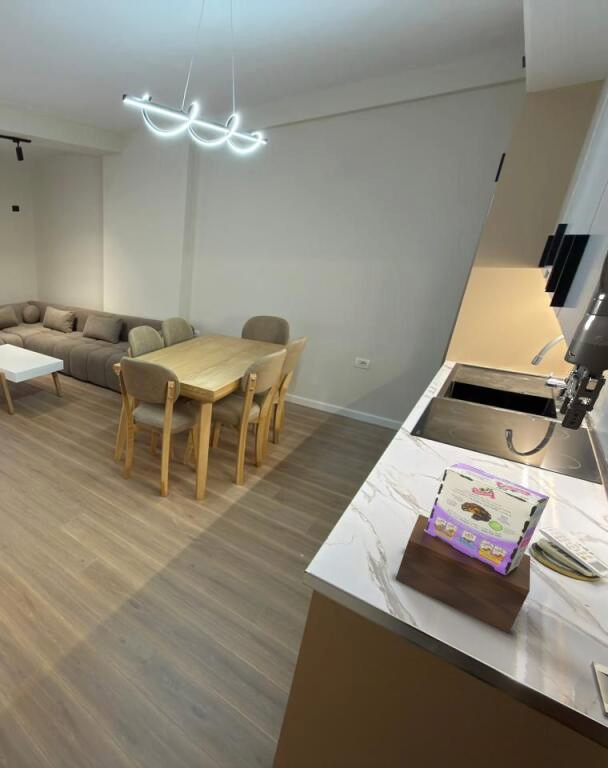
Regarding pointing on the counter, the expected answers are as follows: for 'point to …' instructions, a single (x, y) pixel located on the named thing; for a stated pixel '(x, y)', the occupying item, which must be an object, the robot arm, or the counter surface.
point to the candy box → (485, 516)
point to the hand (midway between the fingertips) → (567, 421)
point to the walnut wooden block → (463, 579)
